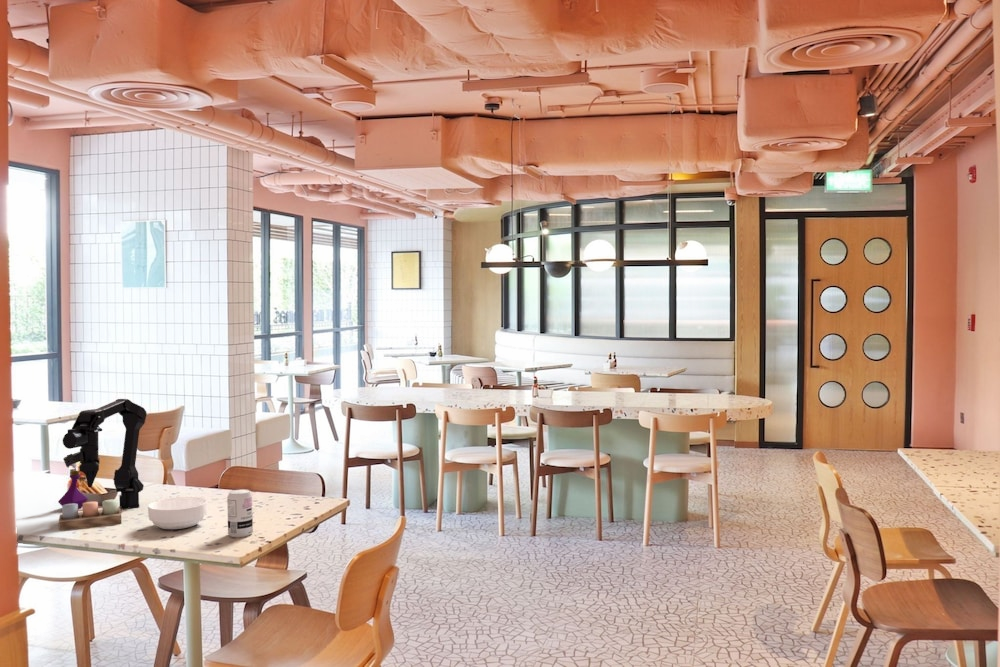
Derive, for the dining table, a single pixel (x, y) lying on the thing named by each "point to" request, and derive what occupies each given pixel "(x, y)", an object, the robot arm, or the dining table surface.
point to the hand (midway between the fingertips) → (89, 487)
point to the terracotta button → (90, 509)
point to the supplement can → (240, 513)
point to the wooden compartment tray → (89, 521)
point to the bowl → (177, 512)
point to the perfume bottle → (73, 491)
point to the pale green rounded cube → (110, 507)
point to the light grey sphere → (70, 511)
